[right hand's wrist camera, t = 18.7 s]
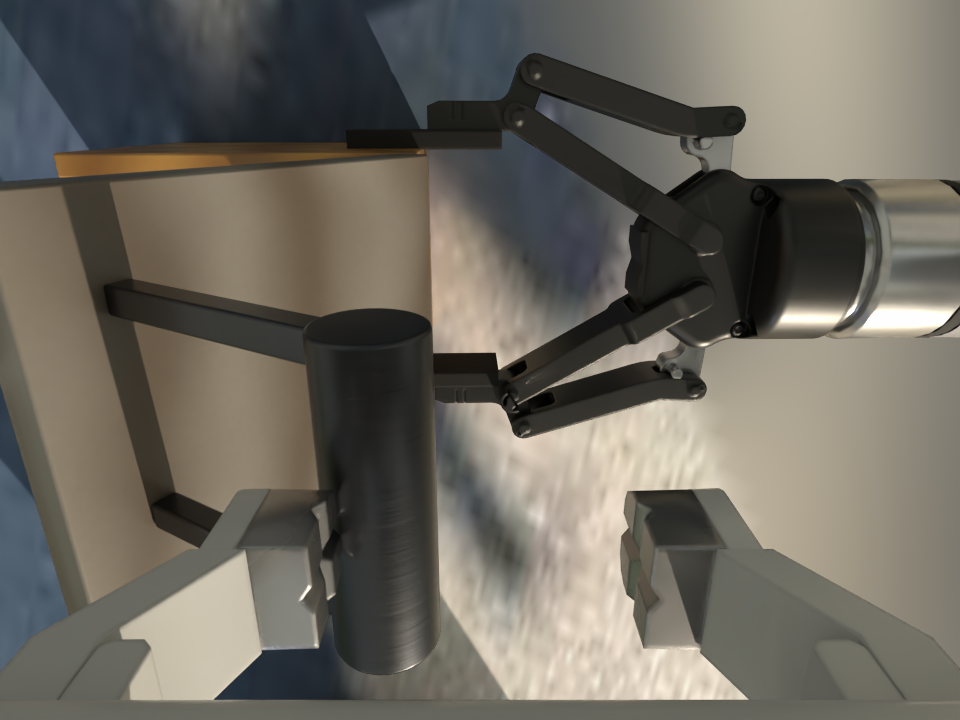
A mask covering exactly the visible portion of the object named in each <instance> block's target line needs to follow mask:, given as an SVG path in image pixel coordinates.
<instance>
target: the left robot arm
mask: <svg viewBox="0 0 960 720" xmlns="http://www.w3.org/2000/svg"><path fill="white" fill-rule="evenodd" d="M540 93H543V94H546V95H549V96H552V97H554V98H557V99H560V100H563V101H566V102H569V103H572V104H575V105H578V106H581V107H584V108H586V109H589V110H592V111H595V112H598V113H601V114H604V115H607V116H610V117H613V118H616V119H619V120H621V121H624V122H627V123H630V124H633V125H636V126H639V127H642V128H645V129H648V130H651V131H653V132H657V133H661V134H664V135H671V136H681V137H680V146H681V148H682V150H683V151H684V152H685V153H686V154H689V155H693V156H695V157H697V158H698V159H699V160H700V162H701V166H702V170H700V171H698V172H697V173H695V174H694V175H693V176H691V177H690V178H688V179H687V180H685V181H684V182H683V183H681V184H680V185H678V186H677V187H675V188H674V189H673V190H671V191H670V192H668V193H667V194H664V193H662V192H661V191H659V190H658V189H656V188H654V187H653V186H651V185H649V184H648V183H646V182H644V181H642V180H641V179H639V178H638V177H636V176H635V175H633V174H632V173H630V172H629V171H627V170H626V169H624V168H623V167H621V166H620V165H618V164H617V163H615V162H614V161H612V160H611V159H609V158H608V157H606V156H605V155H603V154H602V153H600V152H599V151H597V150H596V149H594V148H592V147H591V146H589V145H588V144H586V143H585V142H583V141H582V140H580V139H579V138H577V137H576V136H574V135H573V134H571V133H570V132H568V131H567V130H565V129H564V128H562V127H561V126H559V125H558V124H556V123H555V122H553V121H552V120H550V119H549V118H547V117H546V116H544V115H543V114H541V113H539V112H538V111H536V110H535V106H536V104H537V101H538V98H539V96H540ZM427 120H428V129H352V130H346V141H347V149H406V148H418V149H502V131H511V132H512V133H514V134H515V135H517V136H518V137H520V138H521V139H523V140H525V141H526V142H528V143H529V144H531V145H532V146H534V147H535V148H537V149H539V150H540V151H542V152H543V153H545V154H546V155H548V156H549V157H551V158H552V159H554V160H556V161H557V162H559V163H560V164H562V165H563V166H565V167H566V168H568V169H569V170H571V171H573V172H574V173H576V174H577V175H579V176H580V177H582V178H583V179H585V180H587V181H588V182H590V183H591V184H593V185H594V186H596V187H597V188H599V189H600V190H602V191H604V192H605V193H607V194H608V195H610V196H611V197H613V198H614V199H616V200H617V201H619V202H620V203H622V204H623V205H625V206H626V207H628V208H629V209H631V210H633V211H634V212H636V213H637V214H639V216H638V217H637V219H636V221H635V223H634V225H630V233H629V245H630V250H631V260H630V263H629V266H628V269H627V271H626V279H625V288H626V289H627V290H628V294H626V295H625V296H623V297H621V298H619V299H617V300H616V301H614V302H612V303H611V304H610V305H609V307H608V308H607V309H606V310H605V311H603V312H601V313H599V314H598V315H596V316H594V317H592V318H591V319H589V320H587V321H585V322H583V323H582V324H580V325H578V326H576V327H575V328H573V329H571V330H569V331H567V332H566V333H564V334H562V335H560V336H558V337H557V338H555V339H553V340H551V341H550V342H548V343H546V344H544V345H542V346H541V347H539V348H537V349H535V350H533V351H532V352H530V353H528V354H526V355H525V356H523V357H521V358H519V359H517V360H516V361H514V362H512V363H510V364H509V365H507V366H505V367H503V368H502V369H501V370H498V365H497V359H496V353H433V371H434V387H435V400H438V401H441V402H443V403H464V402H465V403H497V404H499V405H501V406H502V408H503V409H504V410H505V411H506V413H507V416H508V418H509V421H510V423H511V426H512V431H513V433H514V434H515V435H516V436H517V437H519V438H529V437H532V436H536V435H539V434H543V433H546V432H550V431H553V430H557V429H560V428H564V427H567V426H571V425H574V424H578V423H581V422H585V421H588V420H592V419H595V418H599V417H602V416H606V415H609V414H613V413H616V412H620V411H623V410H627V409H630V408H634V407H637V406H641V405H645V404H648V403H652V402H655V401H659V400H668V401H698V400H700V399H701V398H702V397H703V396H704V395H705V393H706V390H707V387H706V385H705V383H704V382H703V380H702V379H701V378H700V373H701V368H702V362H703V357H704V352H705V348H706V347H709V346H711V345H713V344H715V343H717V342H719V341H722V340H725V339H730V338H739V339H806V338H807V339H808V338H819V337H821V336H824V335H825V336H827V337H830V338H835V339H848V338H888V337H960V181H950V180H933V179H932V180H931V179H845V180H842V181H840V182H835V181H833V180H830V179H745V178H743V177H741V176H739V175H737V174H736V173H734V172H733V171H731V160H732V149H733V139H734V135H736V134H738V133H739V132H740V131H741V130H742V129H743V127H744V126H745V122H746V116H745V113H744V111H743V110H742V109H741V108H740V107H737V106H719V107H698V108H693V107H690V106H687V105H684V104H681V103H678V102H675V101H672V100H670V99H667V98H664V97H661V96H658V95H655V94H653V93H650V92H647V91H644V90H641V89H639V88H636V87H633V86H630V85H627V84H624V83H621V82H619V81H616V80H613V79H610V78H607V77H604V76H602V75H599V74H596V73H593V72H590V71H587V70H585V69H582V68H579V67H576V66H573V65H570V64H568V63H565V62H562V61H559V60H556V59H553V58H550V57H548V56H545V55H542V54H538V53H533V54H529V55H528V56H527V57H525V58H524V59H523V60H522V61H521V62H520V63H519V64H518V66H517V68H516V72H515V75H514V78H513V81H512V84H511V86H510V89H509V91H508V93H507V94H506V96H505V97H504V98H502V99H501V100H498V101H437V102H435V103H433V104H430V105H428V106H427ZM663 330H666V331H668V332H669V333H670V334H672V335H673V336H674V337H676V338H677V339H678V340H680V342H679V344H678V346H677V347H676V348H675V349H674V350H672V351H668V352H662V353H660V354H659V355H658V357H657V359H656V361H645V362H639V363H635V364H631V365H627V366H624V367H620V368H617V369H614V370H610V371H607V372H603V373H600V374H596V375H593V376H589V377H586V378H583V379H579V380H576V381H572V382H569V383H565V384H562V385H558V386H555V387H552V386H554V385H555V384H557V383H559V382H561V381H563V380H564V379H566V378H568V377H570V376H572V375H574V374H575V373H577V372H579V371H581V370H583V369H585V368H586V367H588V366H590V365H592V364H594V363H596V362H597V361H599V360H601V359H603V358H605V357H607V356H608V355H610V354H612V353H614V352H616V351H617V350H619V349H621V348H623V347H625V346H627V345H629V344H638V343H641V342H643V341H645V340H647V339H649V338H650V337H652V336H654V335H656V334H658V333H660V332H661V331H663ZM550 387H552V388H550Z"/></svg>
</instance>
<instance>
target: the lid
mask: <svg viewBox="0 0 960 720" xmlns="http://www.w3.org/2000/svg"><path fill="white" fill-rule="evenodd" d="M0 385H1V389H2V392H3V395H4V399H5V402H6V405H7V409H8V412H9V415H10V419H11V422H12V426H13V429H14V432H15V436H16V439H17V442H18V446H19V449H20V452H21V456H22V459H23V462H24V466H25V469H26V473H27V476H28V479H29V483H30V486H31V489H32V493H33V496H34V499H35V503H36V506H37V510H38V513H39V516H40V520H41V523H42V526H43V530H44V533H45V536H46V540H47V543H48V547H49V550H50V553H51V557H52V560H53V563H54V567H55V570H56V573H57V577H58V580H59V584H60V587H61V590H62V594H63V597H64V600H65V604H66V607H67V610H68V614H69V615H71V614H73V613H75V612H77V611H78V610H80V609H82V608H84V607H86V606H87V605H89V604H91V603H93V602H95V601H96V600H98V599H100V598H102V597H104V596H106V595H107V594H109V593H111V592H113V591H115V590H116V589H118V588H120V587H122V586H124V585H125V584H127V583H129V582H131V581H133V580H134V579H136V578H138V577H140V576H142V575H144V574H145V573H147V572H149V571H151V570H153V569H154V568H156V567H158V566H160V565H162V564H163V563H165V562H167V561H169V560H171V559H172V558H174V557H176V556H178V555H180V554H181V553H183V552H185V551H187V550H189V549H199V548H200V547H201V545H202V544H203V542H204V541H205V539H206V538H207V536H208V535H209V533H210V532H211V530H212V529H213V527H214V526H215V524H216V523H217V521H218V520H219V518H220V517H221V515H222V514H223V512H224V511H225V509H226V507H227V506H228V504H229V503H230V501H231V500H232V498H233V497H234V495H235V494H236V493H237V492H238V491H239V490H242V489H272V490H273V489H303V490H333V491H334V493H335V495H336V500H337V508H338V515H337V518H336V521H335V524H334V526H333V528H334V530H335V531H336V532H337V533H338V534H339V535H340V538H341V570H340V577H339V583H338V586H337V590H336V593H335V595H334V596H333V597H331V598H330V599H329V600H328V601H327V602H328V612H329V614H331V615H332V620H333V630H334V639H335V646H336V649H337V652H338V653H339V655H340V657H341V658H342V659H343V660H344V661H345V662H346V663H347V664H348V665H349V666H351V667H352V668H354V669H356V670H358V671H360V672H363V673H367V674H372V675H390V674H396V673H399V672H403V671H405V670H408V669H410V668H412V667H414V666H416V665H418V664H419V663H421V662H422V661H423V660H424V659H426V658H427V657H428V655H429V654H430V653H431V652H432V651H433V649H434V647H435V646H436V644H437V642H438V639H439V636H440V590H439V554H438V518H437V481H436V445H435V408H434V371H433V335H432V299H431V262H430V226H429V190H428V157H427V155H425V154H400V153H399V154H385V155H371V156H357V157H343V158H329V159H315V160H301V161H287V162H273V163H259V164H245V165H230V166H216V167H202V168H188V169H174V170H160V171H146V172H132V173H118V174H104V175H90V176H76V177H61V178H47V179H33V180H19V181H5V182H0Z"/></svg>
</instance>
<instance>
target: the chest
mask: <svg viewBox="0 0 960 720" xmlns="http://www.w3.org/2000/svg"><path fill="white" fill-rule="evenodd" d="M399 153H400V154H425V155H427V157H428V149H418V148H406V149H347V142H179V143H168V144H156V145H144V146H132V147H120V148H108V149H96V150H84V151H72V152H61V153H55V154H54V160H55V164H56V169H57V173H58V176H59V177H60V178H61V177H76V176H90V175H104V174H118V173H132V172H146V171H160V170H174V169H188V168H202V167H216V166H230V165H245V164H259V163H273V162H287V161H301V160H315V159H329V158H343V157H357V156H371V155H385V154H399ZM428 190H429V171H428ZM429 226H430V208H429ZM430 262H431V245H430ZM431 299H432V281H431ZM432 326H433V318H432Z"/></svg>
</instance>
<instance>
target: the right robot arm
mask: <svg viewBox="0 0 960 720" xmlns="http://www.w3.org/2000/svg"><path fill="white" fill-rule="evenodd" d="M337 515H338V508H337V500H336V495H335V493H334V491H333V490H303V489H273V490H272V489H242V490H239V491H238V492H237V493H236V494H235V495H234V497H233V498H232V500H231V501H230V503H229V504H228V506H227V507H226V509H225V511H224V512H223V514H222V515H221V517H220V518H219V520H218V521H217V523H216V524H215V526H214V527H213V529H212V530H211V532H210V533H209V535H208V536H207V538H206V539H205V541H204V542H203V544H202V545H201V547H200V548H199V549H189V550H187V551H185V552H183V553H181V554H180V555H178V556H176V557H174V558H172V559H171V560H169V561H167V562H165V563H163V564H162V565H160V566H158V567H156V568H154V569H153V570H151V571H149V572H147V573H145V574H144V575H142V576H140V577H138V578H136V579H134V580H133V581H131V582H129V583H127V584H125V585H124V586H122V587H120V588H118V589H116V590H115V591H113V592H111V593H109V594H107V595H106V596H104V597H102V598H100V599H98V600H96V601H95V602H93V603H91V604H89V605H87V606H86V607H84V608H82V609H80V610H78V611H77V612H75V613H73V614H71V615H69V616H68V617H66V618H64V619H62V620H60V621H58V622H57V623H55V624H53V625H51V626H49V627H48V628H46V629H44V630H42V631H40V632H39V633H37V634H35V635H33V636H31V637H30V638H29V640H28V641H27V642H26V643H25V644H24V645H23V646H22V648H21V649H20V650H19V651H18V652H17V653H16V655H15V656H14V657H13V658H12V659H11V660H10V661H9V663H8V664H7V665H6V666H5V667H4V668H3V669H2V671H1V672H0V720H960V668H959V667H958V666H957V665H956V663H955V662H954V661H953V660H952V659H951V658H950V657H949V655H948V654H947V653H946V652H945V651H944V650H943V649H942V647H941V646H940V645H939V644H938V643H937V642H936V641H935V639H934V638H933V637H931V636H929V635H927V634H925V633H924V632H922V631H920V630H918V629H916V628H915V627H913V626H911V625H909V624H907V623H906V622H904V621H902V620H900V619H898V618H897V617H895V616H893V615H891V614H889V613H887V612H886V611H884V610H882V609H880V608H878V607H877V606H875V605H873V604H871V603H869V602H868V601H866V600H864V599H862V598H860V597H858V596H857V595H855V594H853V593H851V592H849V591H848V590H846V589H844V588H842V587H840V586H839V585H837V584H835V583H833V582H831V581H829V580H828V579H826V578H824V577H822V576H821V575H819V574H817V573H815V572H813V571H811V570H810V569H808V568H806V567H804V566H802V565H801V564H799V563H797V562H795V561H793V560H792V559H790V558H788V557H786V556H784V555H783V554H781V553H779V552H777V551H775V550H773V549H763V548H762V547H761V545H760V544H759V542H758V541H757V539H756V538H755V536H754V535H753V533H752V532H751V530H750V529H749V527H748V526H747V524H746V523H745V521H744V520H743V518H742V517H741V515H740V514H739V512H738V511H737V510H736V508H735V507H734V505H733V504H732V502H731V501H730V499H729V498H728V496H727V495H726V493H725V492H724V491H723V490H721V489H719V488H713V489H689V490H653V491H627V495H626V498H625V505H624V515H625V518H626V521H627V524H628V527H629V528H628V529H627V530H626V532H625V533H624V534H623V535H622V536H621V549H620V559H621V573H622V579H623V584H624V587H625V590H626V594H627V595H628V596H629V597H630V598H632V599H633V600H634V601H635V602H634V612H633V617H634V620H635V623H636V626H637V629H638V632H639V635H640V638H641V642H642V645H643V648H646V649H681V650H700V653H701V654H702V655H703V656H704V657H705V658H706V659H707V660H708V661H709V662H710V663H711V664H713V665H714V666H715V667H716V668H717V669H718V670H719V671H720V672H721V673H722V674H723V675H724V676H725V677H726V678H727V679H728V680H729V681H730V682H731V683H732V684H733V685H734V686H736V687H737V688H738V689H739V690H740V691H741V692H742V693H743V694H744V695H745V696H746V697H747V698H748V699H749V700H213V699H214V698H215V697H217V696H218V695H219V694H220V693H221V692H222V691H223V690H224V689H225V688H226V687H227V686H228V685H229V684H230V683H231V682H232V681H233V680H234V679H235V678H236V677H237V676H238V675H239V674H241V673H242V672H243V671H244V670H245V669H246V668H247V667H248V666H249V665H250V664H251V663H252V662H253V661H254V660H255V659H256V658H257V657H258V656H259V655H260V654H261V653H262V651H261V650H280V649H315V648H319V645H320V642H321V639H322V636H323V632H324V629H325V626H326V623H327V620H328V616H329V612H328V602H327V601H328V600H329V599H330V598H331V597H333V596H334V595H335V593H336V590H337V586H338V583H339V577H340V570H341V538H340V535H339V534H338V533H337V532H336V531H335V530H334V528H333V526H334V524H335V521H336V518H337Z"/></svg>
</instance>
